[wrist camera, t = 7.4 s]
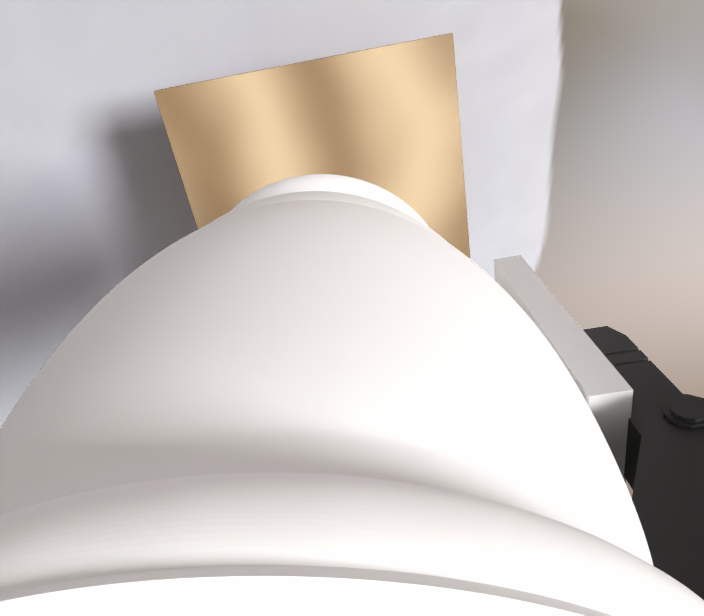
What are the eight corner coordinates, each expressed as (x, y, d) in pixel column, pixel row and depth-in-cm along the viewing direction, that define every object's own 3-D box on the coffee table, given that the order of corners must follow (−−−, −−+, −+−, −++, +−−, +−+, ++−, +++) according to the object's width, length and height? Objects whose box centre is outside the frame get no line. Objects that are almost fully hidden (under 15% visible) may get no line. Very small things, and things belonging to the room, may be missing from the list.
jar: (537, 236, 18) (1141, 829, 4) (382, 446, 22) (450, 1092, 8) (247, 70, 15) (-405, 266, 2) (133, 341, 19) (-338, 1021, 6)
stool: (252, 294, 37) (235, 345, 31) (191, 81, 31) (153, 91, 25) (450, 260, 36) (474, 306, 30) (429, 35, 30) (452, 33, 24)
